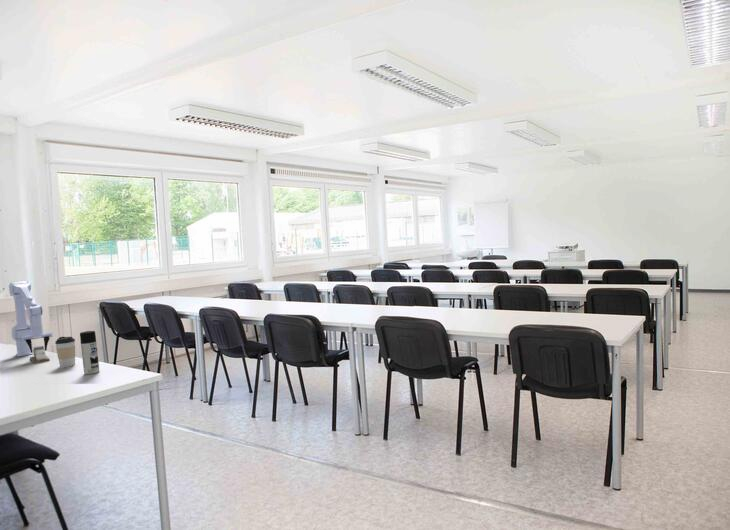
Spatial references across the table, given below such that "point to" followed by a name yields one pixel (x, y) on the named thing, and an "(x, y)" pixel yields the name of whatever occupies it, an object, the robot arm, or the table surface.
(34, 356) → the block
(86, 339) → the spray can
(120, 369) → the table surface
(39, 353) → the cream blocky elongated piece
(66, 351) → the coffee cup
